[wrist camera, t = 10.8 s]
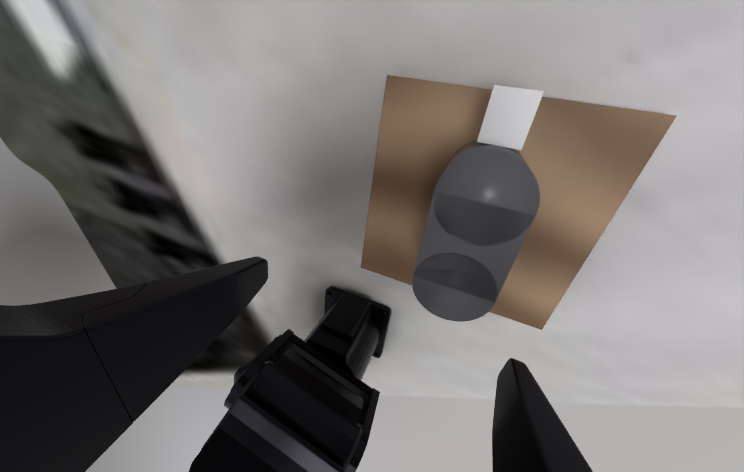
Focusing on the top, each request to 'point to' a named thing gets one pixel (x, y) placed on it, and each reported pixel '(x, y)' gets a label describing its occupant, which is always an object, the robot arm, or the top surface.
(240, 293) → the robot arm
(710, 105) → the top surface
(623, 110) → the board
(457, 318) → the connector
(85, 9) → the top surface
